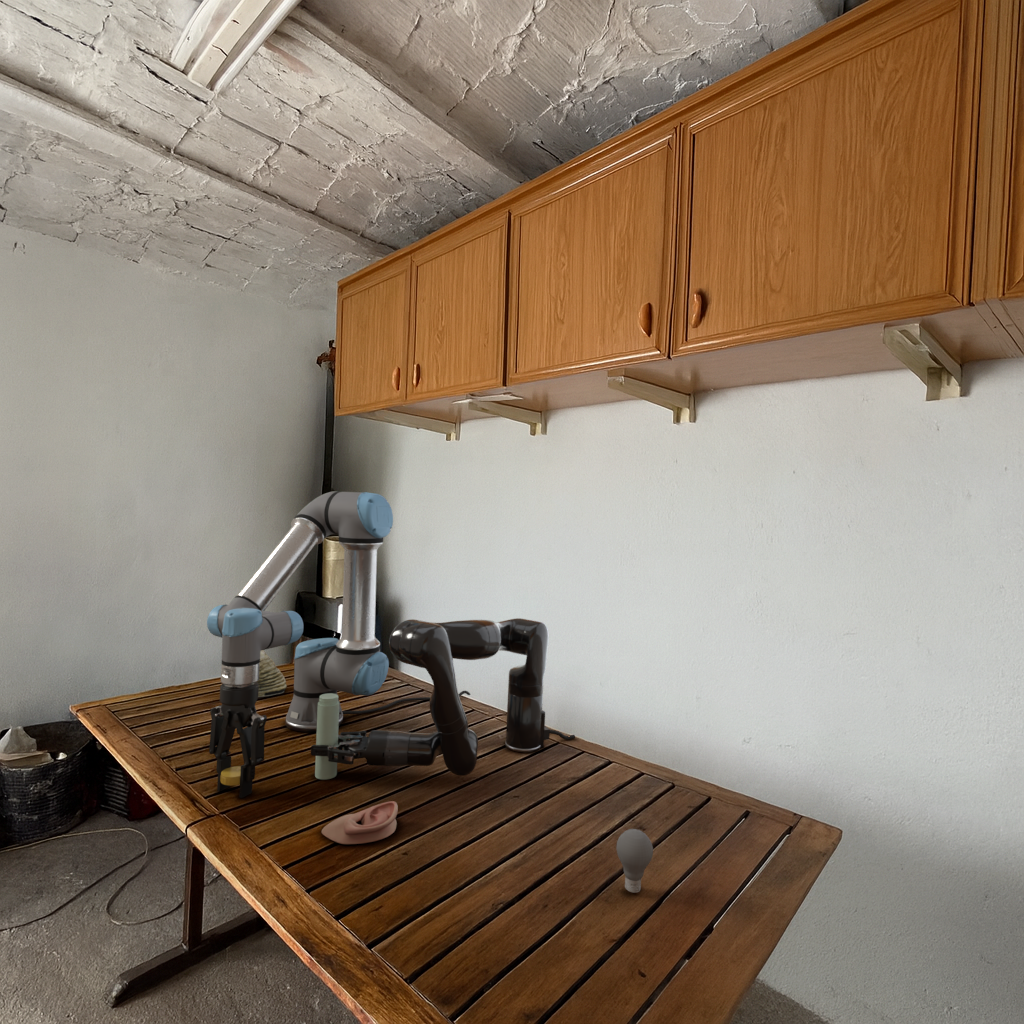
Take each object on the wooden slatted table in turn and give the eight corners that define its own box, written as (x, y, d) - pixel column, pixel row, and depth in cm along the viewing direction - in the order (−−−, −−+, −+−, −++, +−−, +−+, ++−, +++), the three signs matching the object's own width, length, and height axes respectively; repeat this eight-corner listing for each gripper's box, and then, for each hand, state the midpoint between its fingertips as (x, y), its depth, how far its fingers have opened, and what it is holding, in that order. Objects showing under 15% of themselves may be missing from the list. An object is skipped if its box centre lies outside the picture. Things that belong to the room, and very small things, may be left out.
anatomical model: (313, 818, 117) (342, 790, 128) (313, 839, 117) (341, 810, 128) (381, 829, 114) (404, 800, 125) (380, 850, 114) (403, 819, 125)
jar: (315, 780, 141) (318, 699, 141) (314, 771, 146) (317, 693, 145) (337, 778, 143) (340, 698, 142) (335, 769, 147) (338, 692, 147)
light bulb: (610, 879, 108) (613, 822, 108) (644, 879, 109) (647, 822, 109) (619, 902, 102) (622, 840, 102) (655, 901, 103) (658, 840, 103)
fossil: (218, 695, 195) (220, 647, 195) (278, 685, 208) (279, 640, 207) (228, 703, 189) (230, 653, 188) (289, 692, 201) (290, 645, 201)
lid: (255, 777, 136) (255, 769, 136) (235, 787, 130) (236, 779, 130) (234, 772, 138) (234, 764, 138) (214, 782, 132) (214, 774, 132)
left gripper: (192, 680, 134) (187, 789, 134) (260, 694, 127) (254, 809, 127) (221, 672, 141) (216, 775, 141) (286, 685, 134) (281, 794, 134)
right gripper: (395, 720, 151) (324, 718, 151) (384, 744, 137) (305, 741, 137) (394, 752, 151) (323, 749, 151) (383, 778, 137) (304, 775, 137)
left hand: (234, 791), depth 134 cm, fingers closed on lid, 6 cm apart
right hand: (315, 745), depth 144 cm, fingers closed on jar, 4 cm apart
